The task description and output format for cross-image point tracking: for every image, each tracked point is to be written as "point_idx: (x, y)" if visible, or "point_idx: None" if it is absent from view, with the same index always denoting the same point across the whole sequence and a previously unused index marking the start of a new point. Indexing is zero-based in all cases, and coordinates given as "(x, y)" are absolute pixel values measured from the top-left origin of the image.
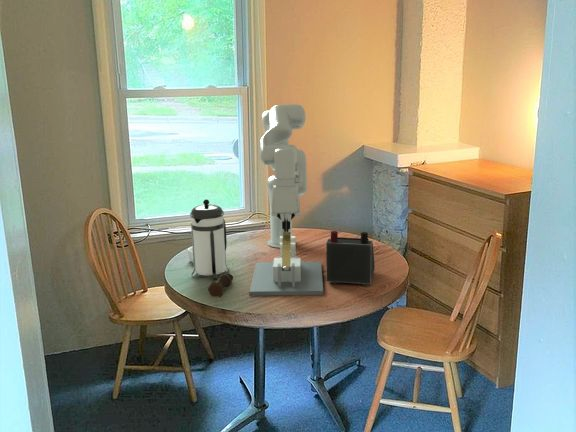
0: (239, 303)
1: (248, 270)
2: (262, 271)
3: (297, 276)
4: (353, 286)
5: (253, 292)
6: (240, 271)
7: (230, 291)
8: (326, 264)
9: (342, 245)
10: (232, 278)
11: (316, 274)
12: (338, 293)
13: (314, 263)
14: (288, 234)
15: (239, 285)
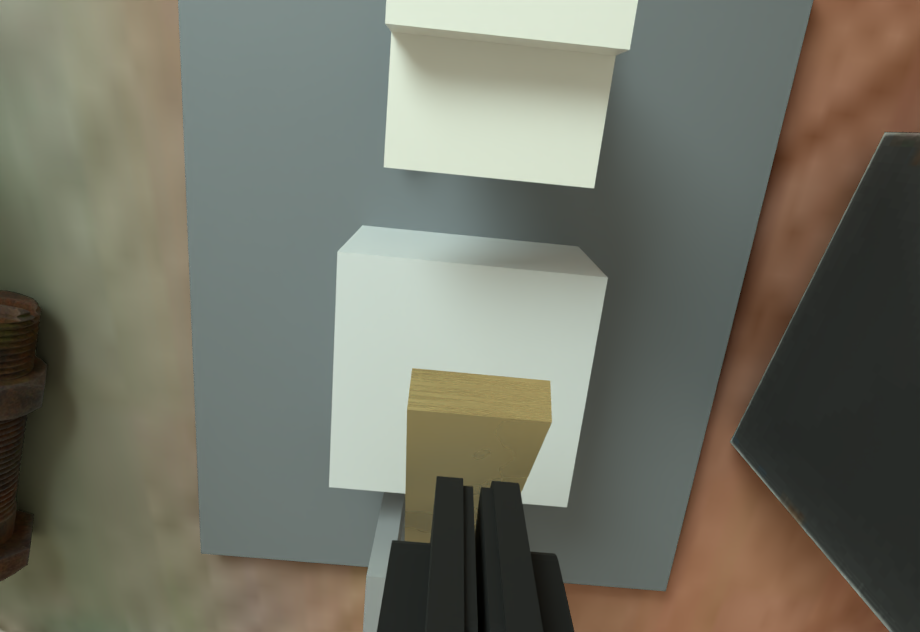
0: (169, 624)
1: (133, 43)
2: (258, 188)
3: None
4: None
5: (230, 551)
6: (65, 61)
7: (78, 462)
8: (797, 521)
9: None
10: (35, 323)
11: (691, 314)
12: (751, 562)
13: (743, 28)
14: (504, 446)
15: (118, 370)
